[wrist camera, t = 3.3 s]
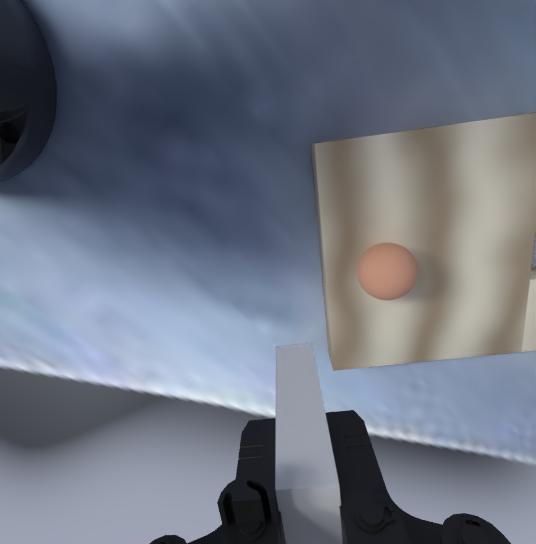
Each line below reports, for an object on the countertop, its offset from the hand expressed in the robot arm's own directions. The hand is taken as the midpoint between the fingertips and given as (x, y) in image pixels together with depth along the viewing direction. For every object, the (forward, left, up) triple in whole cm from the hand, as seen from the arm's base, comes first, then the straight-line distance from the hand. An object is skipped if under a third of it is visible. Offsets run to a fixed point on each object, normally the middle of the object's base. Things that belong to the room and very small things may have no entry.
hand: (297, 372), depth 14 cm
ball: (+7, 0, -12) cm, 14 cm away
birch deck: (+15, 0, -15) cm, 21 cm away
